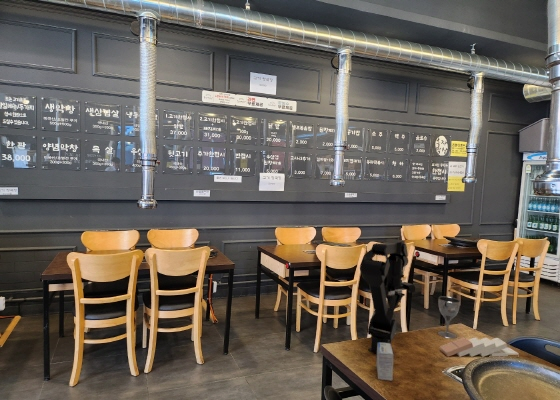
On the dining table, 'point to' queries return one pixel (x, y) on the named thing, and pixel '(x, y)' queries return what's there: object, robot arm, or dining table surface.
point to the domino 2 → (476, 346)
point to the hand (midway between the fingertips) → (392, 310)
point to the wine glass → (448, 313)
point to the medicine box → (384, 361)
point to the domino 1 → (456, 346)
